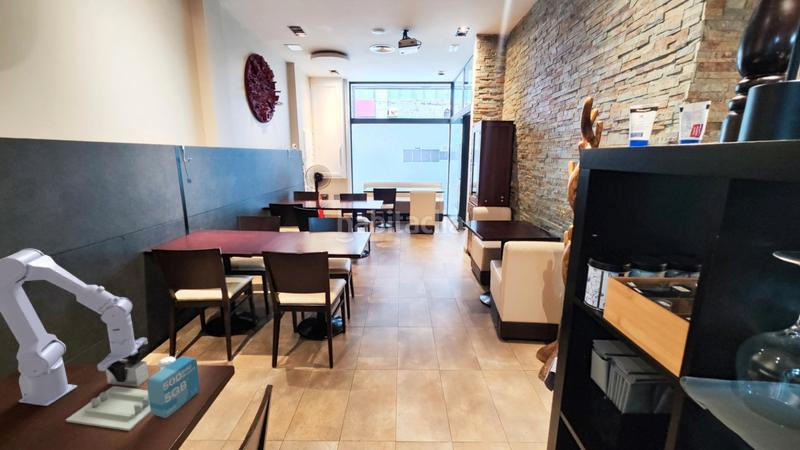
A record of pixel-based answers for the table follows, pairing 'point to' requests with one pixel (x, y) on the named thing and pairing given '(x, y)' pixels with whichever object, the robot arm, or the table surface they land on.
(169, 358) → the milkshake
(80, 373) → the table surface
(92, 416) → the dock tray
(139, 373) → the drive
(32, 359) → the robot arm
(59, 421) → the table surface
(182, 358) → the data package
